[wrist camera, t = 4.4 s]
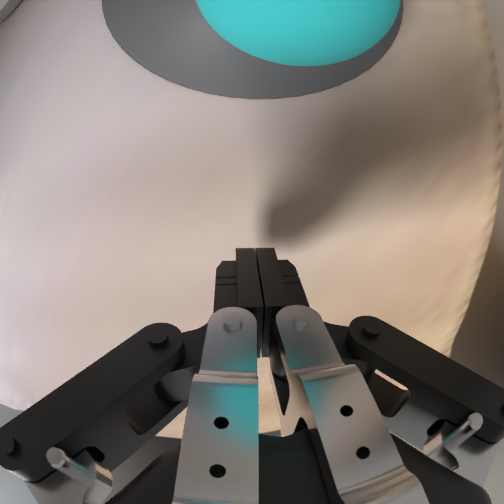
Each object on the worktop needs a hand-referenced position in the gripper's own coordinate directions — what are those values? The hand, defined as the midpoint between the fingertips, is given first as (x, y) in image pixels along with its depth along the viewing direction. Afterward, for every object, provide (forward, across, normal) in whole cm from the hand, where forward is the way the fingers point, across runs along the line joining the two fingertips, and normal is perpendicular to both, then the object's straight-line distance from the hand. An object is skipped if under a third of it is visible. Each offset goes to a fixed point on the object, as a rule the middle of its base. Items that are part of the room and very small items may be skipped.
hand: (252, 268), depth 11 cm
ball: (-2, -1, -10) cm, 11 cm away
